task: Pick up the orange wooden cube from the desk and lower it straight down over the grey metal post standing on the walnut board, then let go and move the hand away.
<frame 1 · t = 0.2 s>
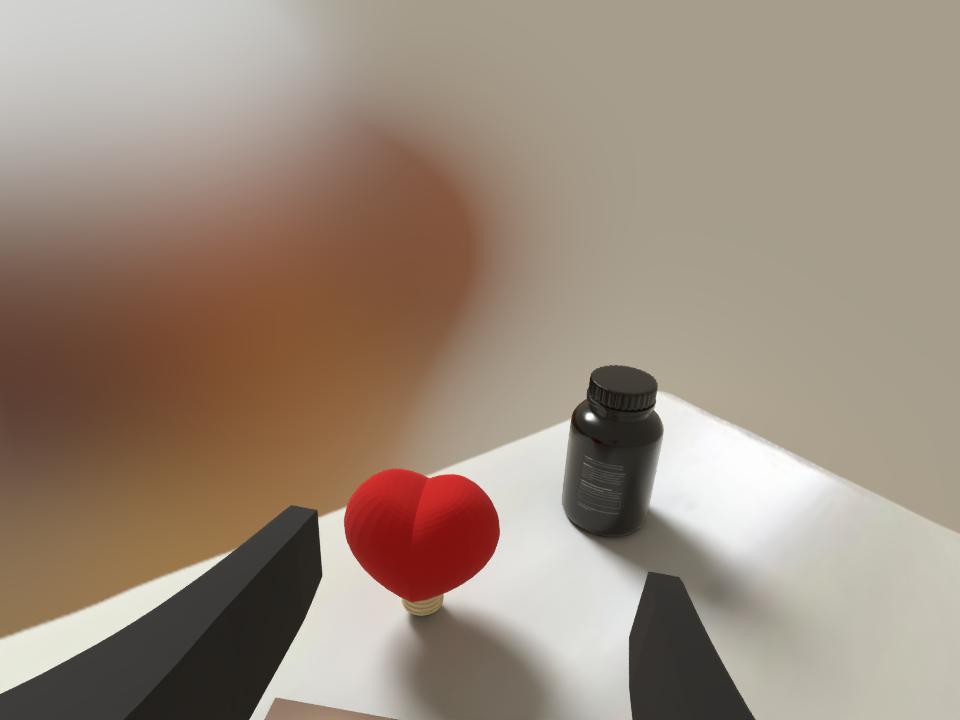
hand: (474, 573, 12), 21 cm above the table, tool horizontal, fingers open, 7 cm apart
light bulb: (422, 609, 37), on the table
supplement bottle: (602, 511, 47), on the table
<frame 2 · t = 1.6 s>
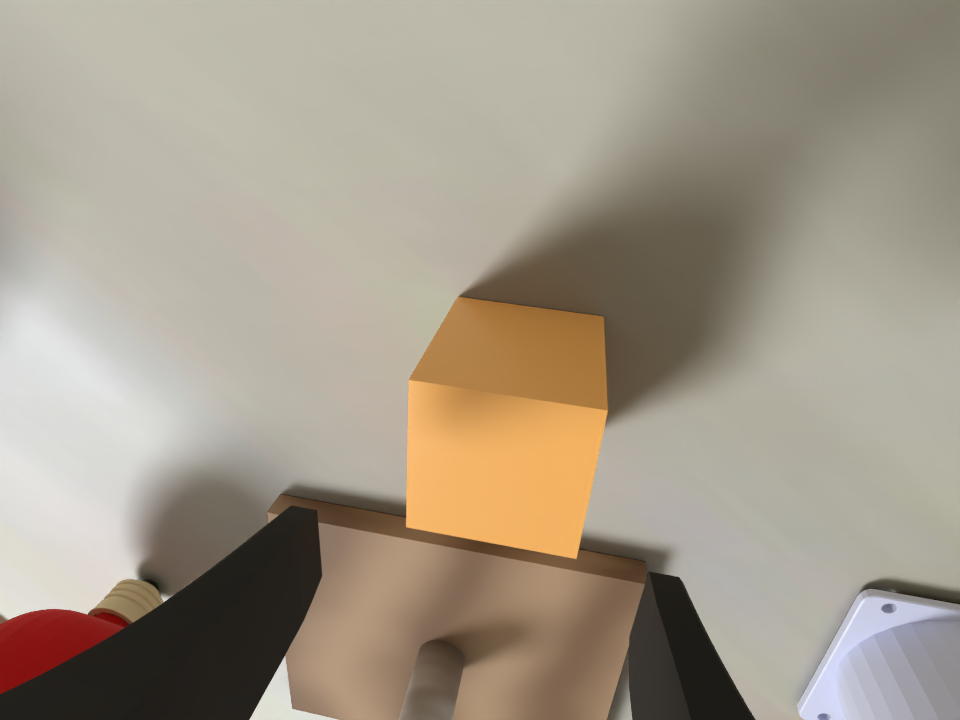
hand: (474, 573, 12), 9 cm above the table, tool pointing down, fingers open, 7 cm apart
orange wooden cube: (521, 370, 21), on the table
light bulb: (153, 581, 30), on the table
post board: (447, 634, 28), on the table
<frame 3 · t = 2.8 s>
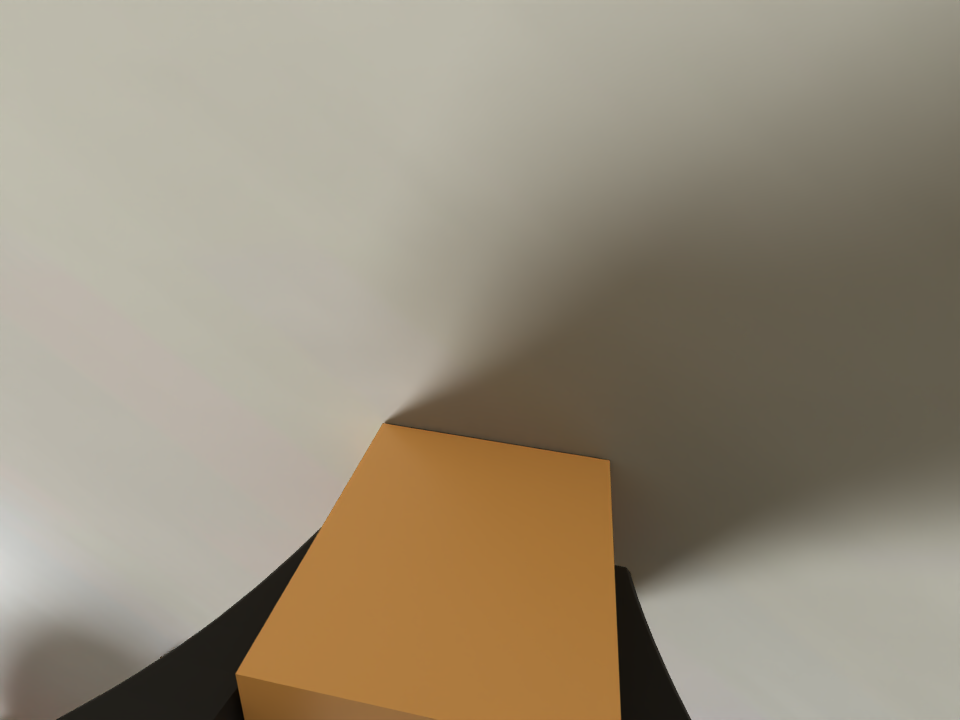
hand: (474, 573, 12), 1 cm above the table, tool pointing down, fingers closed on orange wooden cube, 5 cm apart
orange wooden cube: (484, 527, 14), on the table, touching gripper
when the fingers open (4 cm above the table, at t = 6.7 s): orange wooden cube stays where it is, resting on post board.
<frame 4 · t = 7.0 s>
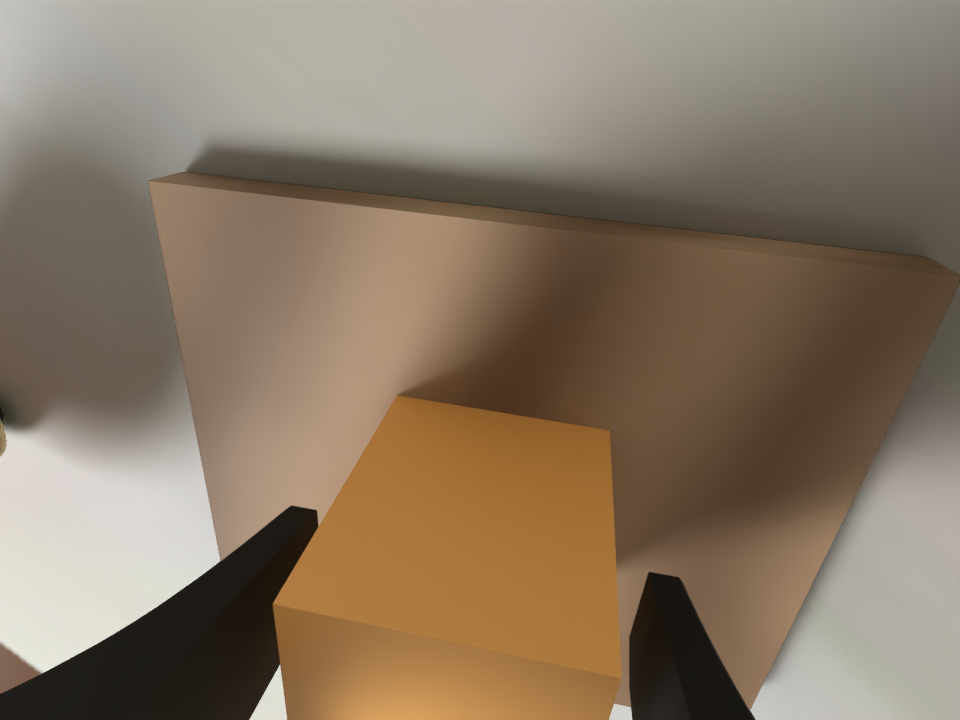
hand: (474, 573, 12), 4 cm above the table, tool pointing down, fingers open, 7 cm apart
orange wooden cube: (491, 495, 14), point 1 cm above the table, touching post board
post board: (498, 470, 16), on the table
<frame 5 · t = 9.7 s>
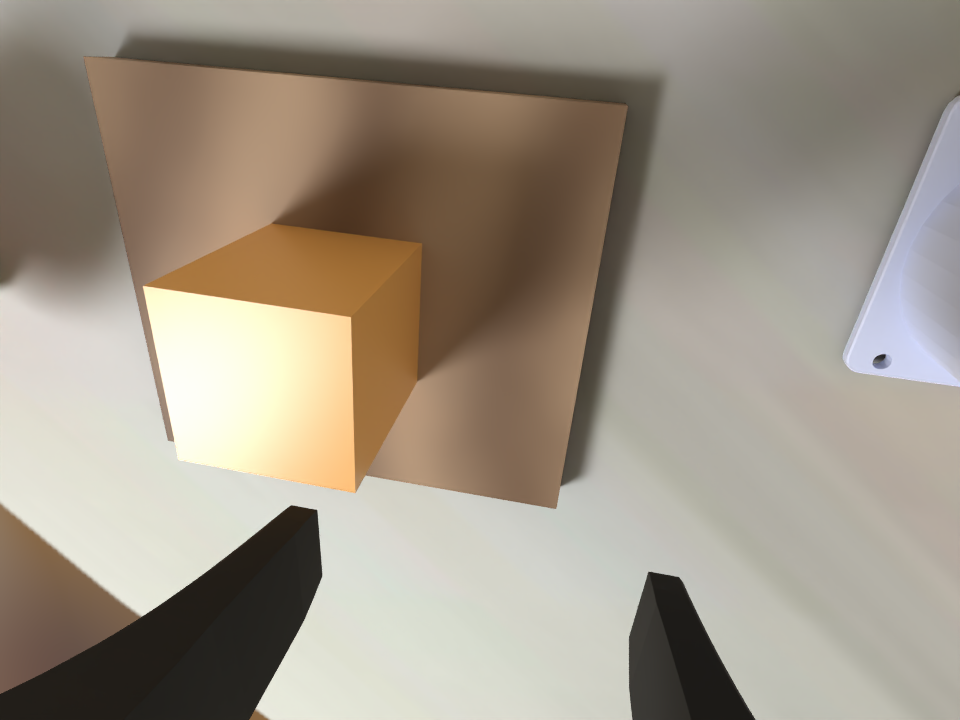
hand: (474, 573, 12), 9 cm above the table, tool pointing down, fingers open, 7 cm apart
orange wooden cube: (347, 306, 19), point 1 cm above the table, touching post board
post board: (360, 297, 20), on the table
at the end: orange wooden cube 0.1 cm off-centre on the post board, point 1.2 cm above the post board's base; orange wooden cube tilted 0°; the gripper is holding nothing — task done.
